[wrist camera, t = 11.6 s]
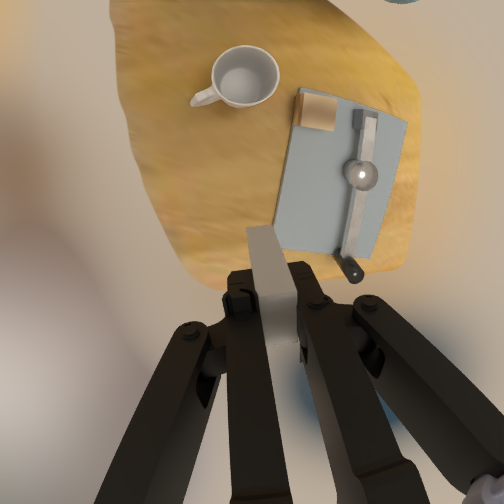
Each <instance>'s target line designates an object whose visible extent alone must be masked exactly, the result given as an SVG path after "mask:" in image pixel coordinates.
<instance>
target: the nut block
mask: <svg viewBox="0 0 504 504" xmlns="http://www.w3.org/2000/svg"><path fill="white" fill-rule="evenodd" d="M337 102H338V99H335V98H331V97H326V96H321V95H316V94H311V93H306V92H304V93H301V94H298V95H296V100H295V109H294V118H293V125H296V126H303V127H309V128H315V129H321V130H327V131H333V132H334V126H335V119H336V111H337Z"/></svg>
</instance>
